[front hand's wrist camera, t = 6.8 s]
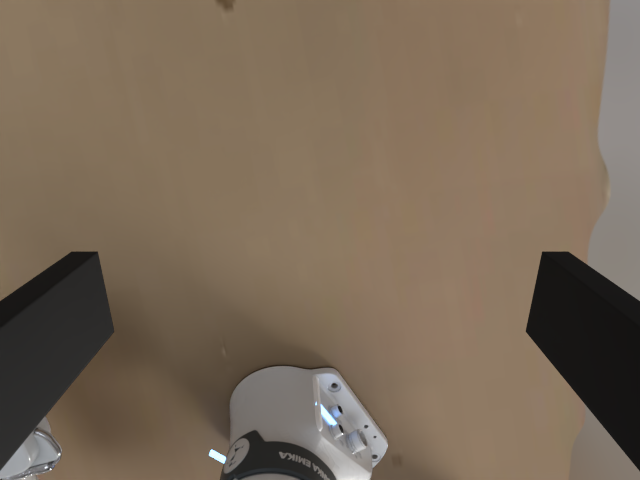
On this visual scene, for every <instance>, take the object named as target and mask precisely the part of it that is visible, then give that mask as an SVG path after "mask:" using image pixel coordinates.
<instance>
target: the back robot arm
mask: <svg viewBox="0 0 640 480" xmlns="http://www.w3.org/2000/svg"><path fill="white" fill-rule="evenodd" d="M333 383H336V385H333ZM229 409H230V421H231V432H230V446H229V451H228V454H227V457H224V456H223V455H221V454H219V453H217V452H215V451H214V450H211V451H210V454H209V456H211V457H213V458H215V459H217V460H219V461H220V462H222V463H224V466H223V469H222V473H221V477H220V480H370V478H371V475H372V468H373V467H374V466H375V465H376V464H377V463H378V462H379V461H380V460H381V459H382V457H383V456H384V454H385V452H386V450H387V447H388V441H387V438H386V437H385V435H384V434H383V432H382V431H381V430H380V428H379V427H378V425H377V424H376V423H375V421H374V420H373V419H372V417H371V416H370V415H369V413H368V412H367V410H366V409H365V408H364V406H363V405H362V404H361V402H360V401H359V400H358V398H357V397H356V395H355V394H354V393H353V391H352V390H351V389H350V387H349V386H348V384H347V383H346V382H345V380H344V379H343V378H342V376H341V375H340V374H339V372H338V371H337V370H336V369H334V368H319V369H312V370H310V369H302V368H297V367H291V366H275V367H269V368H265V369H261V370H259V371H256V372H254V373H252V374H250V375H249V376H247V377H246V378H244V379H243V380H242V381H241V382H240V383H239V384H238V385H237V387H236V388H235V390H234V391H233V394H232V396H231V399H230V406H229ZM61 453H62V448H61V446H60V445H59V443H58V442H57V441H56V439H55V438H54V437H53V435H52V434H51V428H50V425H49V422H48V420H47V418H46V416H45V417H44V418H43V419H42V421H41V422H40V423H39V424H38V425H37V427H36V428H35V429H34V430H33V432H32V433H31V434H30V435H29V436H28V438H27V439H26V440H25V441H24V443H23V444H22V445H21V446H20V447H19V449H18V450H17V451H16V452H15V454H14V455H13V456H12V457H11V458H10V460H9V461H8V462H7V463H6V465H5V466H4V467H3V468H2V469H1V471H0V480H39V479H38V477H37V475H36V474H43V473H46V472H48V471H50V470H52V469H53V468H54V467H55V464H57V463H58V462H59V461H60V459H61ZM374 454H375V455H374Z"/></svg>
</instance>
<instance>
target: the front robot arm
mask: <svg viewBox="0 0 640 480" xmlns="http://www.w3.org/2000/svg"><path fill="white" fill-rule="evenodd" d="M113 332H114V328H113V323H112V318H111V313H110V309H109V304H108V299H107V294H106V289H105V284H104V280H103V275H102V270H101V265H100V260H99V256H98V252H71V253H69V254H68V255H66V256H65V257H63V258H62V259H61V260H59V261H58V262H56V263H55V264H53V265H52V266H50V267H49V268H48V269H46V270H45V271H43V272H42V273H40V274H39V275H37V276H36V277H35V278H33V279H32V280H30V281H29V282H27V283H26V284H24V285H23V286H22V287H20V288H19V289H17V290H16V291H14V292H13V293H11V294H10V295H9V296H7V297H6V298H4V299H3V300H1V301H0V471H1V469H2V468H3V467H4V466H5V465H6V463H7V462H8V461H9V460H10V458H11V457H12V456H13V455H14V454H15V452H16V451H17V450H18V449H19V447H20V446H21V445H22V444H23V443H24V441H25V440H26V439H27V438H28V436H29V435H30V434H31V433H32V432H33V430H34V429H35V428H36V427H37V425H38V424H39V423H40V422H41V421H42V419H43V418H44V417H45V416H46V414H47V413H48V412H49V411H50V410H51V408H52V407H53V406H54V405H55V403H56V402H57V401H58V400H59V399H60V397H61V396H62V395H63V394H64V392H65V391H66V390H67V389H68V387H69V386H70V385H71V384H72V383H73V381H74V380H75V379H76V378H77V376H78V375H79V374H80V373H81V372H82V370H83V369H84V368H85V367H86V365H87V364H88V363H89V362H90V361H91V359H92V358H93V357H94V356H95V354H96V353H97V352H98V351H99V350H100V348H101V347H102V346H103V345H104V343H105V342H106V341H107V340H108V339H109V337H110V336H111V335H112V334H113ZM526 332H527V334H528V335H529V336H530V337H531V339H532V340H533V341H534V342H535V343H536V345H537V346H538V347H539V348H540V350H541V351H542V352H543V353H544V354H545V356H546V357H547V358H548V359H549V361H550V362H551V363H552V364H553V365H554V367H555V368H556V369H557V370H558V372H559V373H560V374H561V375H562V376H563V378H564V379H565V380H566V381H567V383H568V384H569V385H570V386H571V387H572V389H573V390H574V391H575V392H576V394H577V395H578V396H579V397H580V399H581V400H582V401H583V402H584V403H585V405H586V406H587V407H588V408H589V410H590V411H591V412H592V413H593V414H594V416H595V417H596V418H597V419H598V420H599V422H600V423H601V424H602V425H603V427H604V428H605V429H606V430H607V432H608V433H609V434H610V435H611V436H612V438H613V439H614V440H615V441H616V443H617V444H618V445H619V446H620V447H621V449H622V450H623V451H624V452H625V454H626V455H627V456H628V457H629V458H630V460H631V461H632V462H633V463H634V465H635V466H636V467H637V468H638V469H639V471H640V301H639V300H637V299H636V298H634V297H633V296H631V295H630V294H628V293H627V292H626V291H624V290H623V289H621V288H620V287H618V286H617V285H616V284H614V283H613V282H611V281H610V280H608V279H607V278H605V277H604V276H603V275H601V274H600V273H598V272H597V271H595V270H594V269H592V268H591V267H590V266H588V265H587V264H585V263H584V262H582V261H581V260H579V259H578V258H577V257H575V256H574V255H572V254H571V253H569V252H542V256H541V260H540V265H539V270H538V275H537V280H536V284H535V289H534V294H533V299H532V304H531V309H530V313H529V318H528V323H527V328H526Z"/></svg>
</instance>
